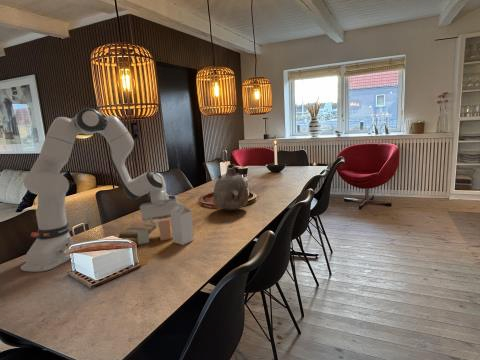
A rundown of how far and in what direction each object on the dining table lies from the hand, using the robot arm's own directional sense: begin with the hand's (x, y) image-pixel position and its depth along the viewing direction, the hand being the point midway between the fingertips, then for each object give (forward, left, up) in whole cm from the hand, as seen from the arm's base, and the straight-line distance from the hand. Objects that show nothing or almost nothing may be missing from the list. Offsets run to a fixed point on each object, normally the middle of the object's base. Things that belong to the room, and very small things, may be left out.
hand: (164, 225), depth 156 cm
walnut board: (+8, +18, -7) cm, 21 cm away
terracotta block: (+1, 0, -7) cm, 7 cm away
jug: (+46, -26, -7) cm, 53 cm away
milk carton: (-3, -11, -7) cm, 13 cm away
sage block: (-5, +10, -7) cm, 13 cm away
